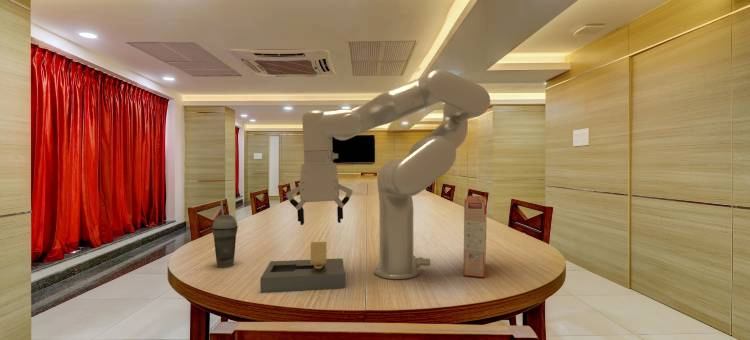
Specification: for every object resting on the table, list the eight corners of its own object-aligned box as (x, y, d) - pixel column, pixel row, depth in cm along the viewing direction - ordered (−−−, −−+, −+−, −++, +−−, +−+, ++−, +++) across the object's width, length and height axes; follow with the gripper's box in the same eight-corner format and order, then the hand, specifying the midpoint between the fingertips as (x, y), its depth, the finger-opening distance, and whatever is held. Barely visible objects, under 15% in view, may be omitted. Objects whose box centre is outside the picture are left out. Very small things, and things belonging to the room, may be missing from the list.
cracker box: (486, 278, 89) (486, 200, 88) (462, 276, 90) (462, 199, 90) (486, 264, 102) (486, 195, 102) (466, 262, 104) (466, 195, 103)
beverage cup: (228, 269, 97) (227, 201, 96) (206, 268, 98) (205, 200, 98) (243, 262, 104) (242, 198, 104) (222, 261, 105) (221, 198, 105)
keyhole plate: (342, 270, 96) (342, 258, 96) (344, 288, 82) (344, 273, 82) (270, 273, 93) (270, 261, 93) (260, 292, 79) (260, 277, 79)
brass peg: (327, 276, 91) (327, 241, 90) (327, 282, 86) (327, 245, 86) (310, 277, 90) (310, 242, 90) (309, 283, 86) (309, 246, 85)
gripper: (350, 157, 93) (352, 219, 93) (286, 159, 90) (289, 222, 91) (352, 157, 85) (354, 223, 86) (282, 159, 83) (285, 227, 83)
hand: (320, 223), depth 88 cm, fingers open, 9 cm apart
